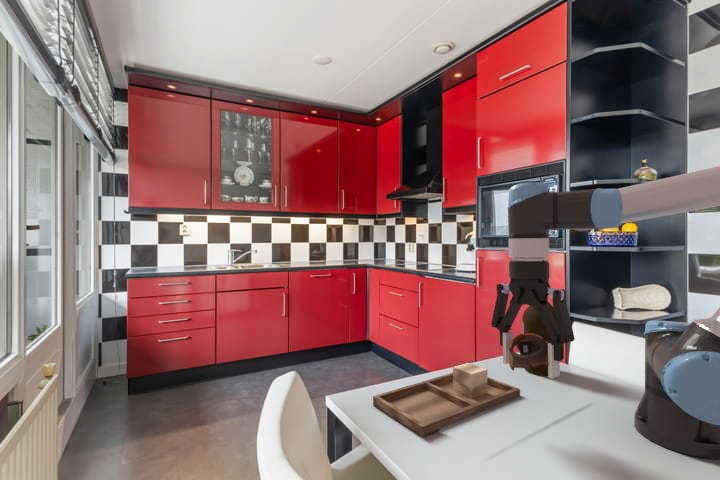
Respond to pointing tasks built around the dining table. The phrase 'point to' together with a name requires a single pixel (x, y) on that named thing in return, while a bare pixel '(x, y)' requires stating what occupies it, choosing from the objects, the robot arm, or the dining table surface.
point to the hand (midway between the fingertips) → (530, 369)
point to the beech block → (470, 380)
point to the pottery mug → (528, 351)
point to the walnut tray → (438, 403)
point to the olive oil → (536, 326)
